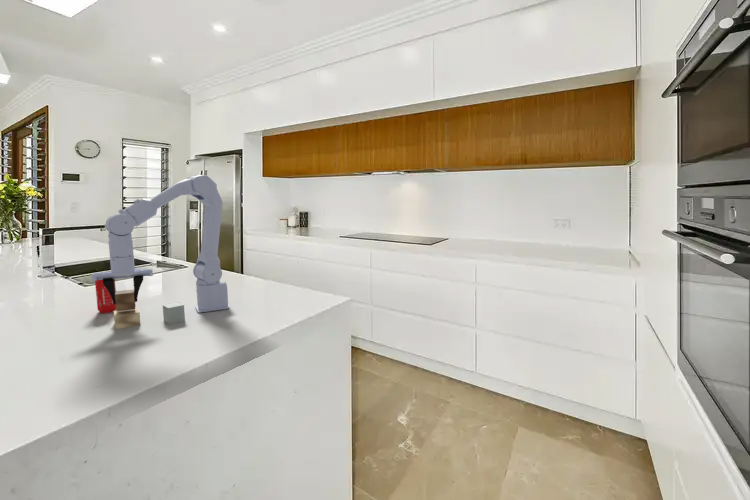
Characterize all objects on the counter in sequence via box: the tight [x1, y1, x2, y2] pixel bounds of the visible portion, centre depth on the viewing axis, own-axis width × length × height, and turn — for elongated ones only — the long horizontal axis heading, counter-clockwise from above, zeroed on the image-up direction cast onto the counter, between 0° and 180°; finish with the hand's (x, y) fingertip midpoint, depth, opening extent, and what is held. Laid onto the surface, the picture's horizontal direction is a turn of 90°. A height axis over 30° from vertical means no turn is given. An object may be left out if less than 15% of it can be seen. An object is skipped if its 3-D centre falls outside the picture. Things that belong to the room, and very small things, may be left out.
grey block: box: [162, 302, 186, 325], centre depth 113 cm, size 4×4×5 cm
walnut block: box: [115, 288, 136, 312], centre depth 109 cm, size 4×4×5 cm
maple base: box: [113, 307, 142, 330], centre depth 110 cm, size 6×6×4 cm
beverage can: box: [94, 280, 117, 314], centre depth 122 cm, size 5×5×12 cm
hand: (125, 302), depth 110 cm, fingers closed on walnut block, 4 cm apart
